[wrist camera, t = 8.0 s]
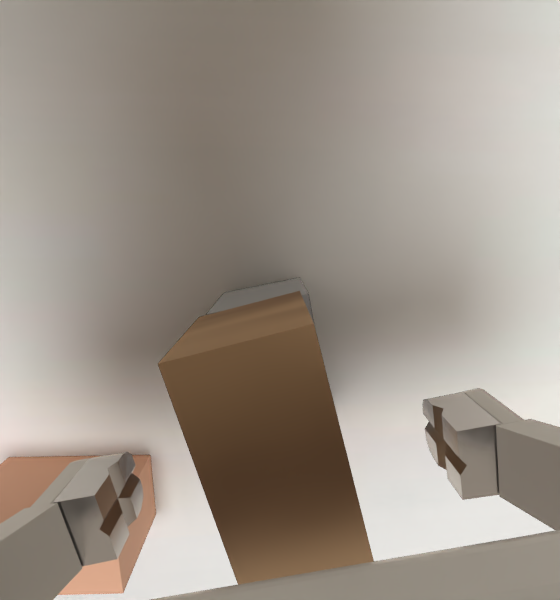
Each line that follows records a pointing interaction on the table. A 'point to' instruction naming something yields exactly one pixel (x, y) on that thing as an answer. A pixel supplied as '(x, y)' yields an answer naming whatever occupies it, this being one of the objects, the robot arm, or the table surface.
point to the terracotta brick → (38, 477)
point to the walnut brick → (267, 440)
